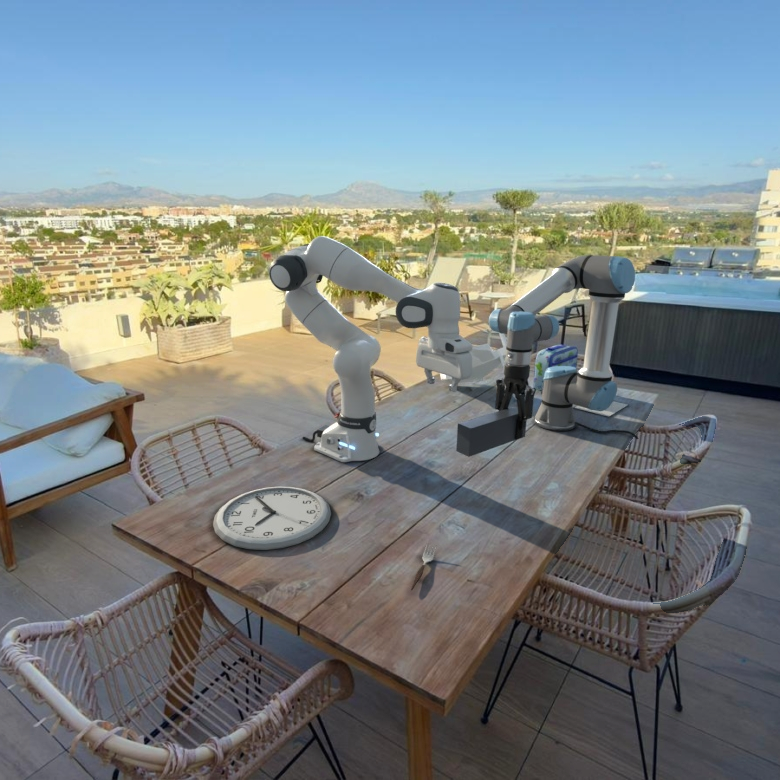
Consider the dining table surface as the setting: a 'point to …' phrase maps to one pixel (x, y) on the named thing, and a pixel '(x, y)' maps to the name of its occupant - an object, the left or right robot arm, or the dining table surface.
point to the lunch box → (553, 361)
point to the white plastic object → (483, 362)
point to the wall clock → (272, 518)
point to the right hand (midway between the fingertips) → (511, 435)
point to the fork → (426, 559)
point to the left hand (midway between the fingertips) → (441, 387)
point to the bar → (487, 431)
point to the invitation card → (609, 411)
